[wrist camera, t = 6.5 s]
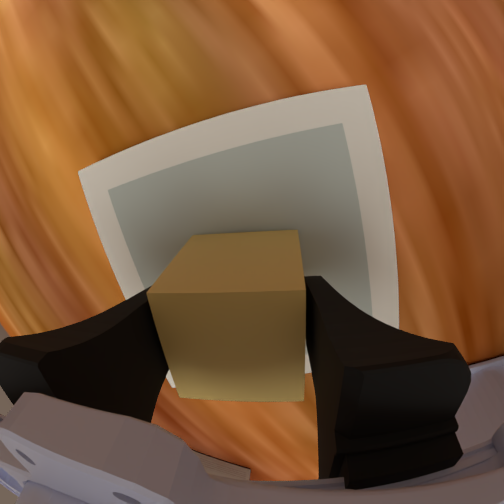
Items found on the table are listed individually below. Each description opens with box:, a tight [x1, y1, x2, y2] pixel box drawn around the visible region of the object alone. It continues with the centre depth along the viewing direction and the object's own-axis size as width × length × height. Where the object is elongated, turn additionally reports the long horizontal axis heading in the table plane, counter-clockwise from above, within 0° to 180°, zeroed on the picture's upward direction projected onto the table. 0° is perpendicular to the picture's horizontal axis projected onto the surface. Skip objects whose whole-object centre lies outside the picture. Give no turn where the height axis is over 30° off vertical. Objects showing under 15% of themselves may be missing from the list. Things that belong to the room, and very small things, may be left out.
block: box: [146, 230, 306, 402], centre depth 12 cm, size 5×5×5 cm
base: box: [78, 85, 399, 388], centre depth 15 cm, size 14×14×2 cm
